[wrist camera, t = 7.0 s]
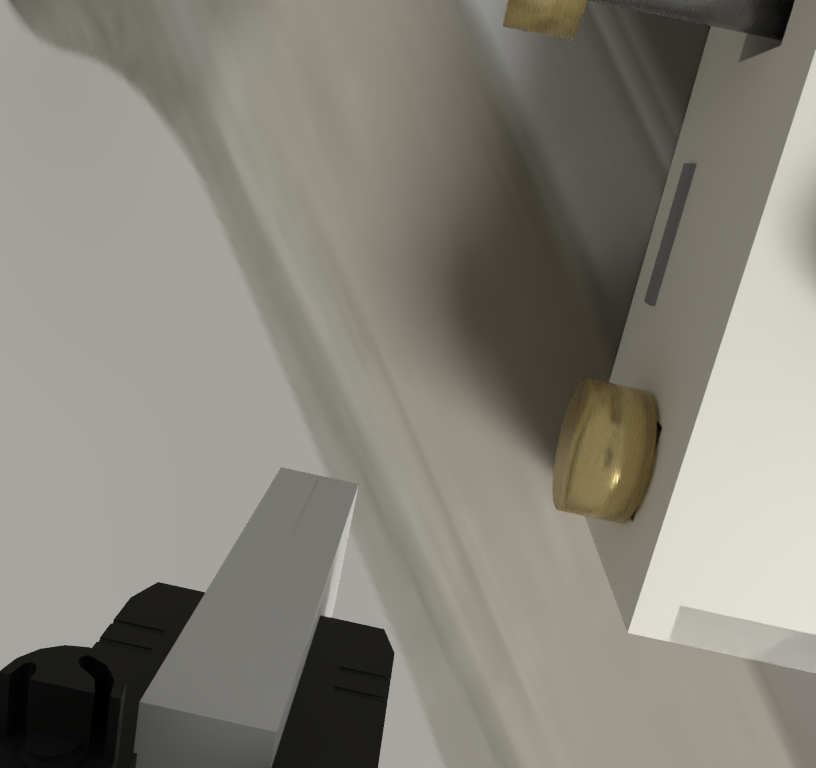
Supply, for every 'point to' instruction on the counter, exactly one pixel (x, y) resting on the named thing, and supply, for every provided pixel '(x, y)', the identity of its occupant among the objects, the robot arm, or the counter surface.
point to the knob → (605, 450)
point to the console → (730, 365)
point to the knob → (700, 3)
